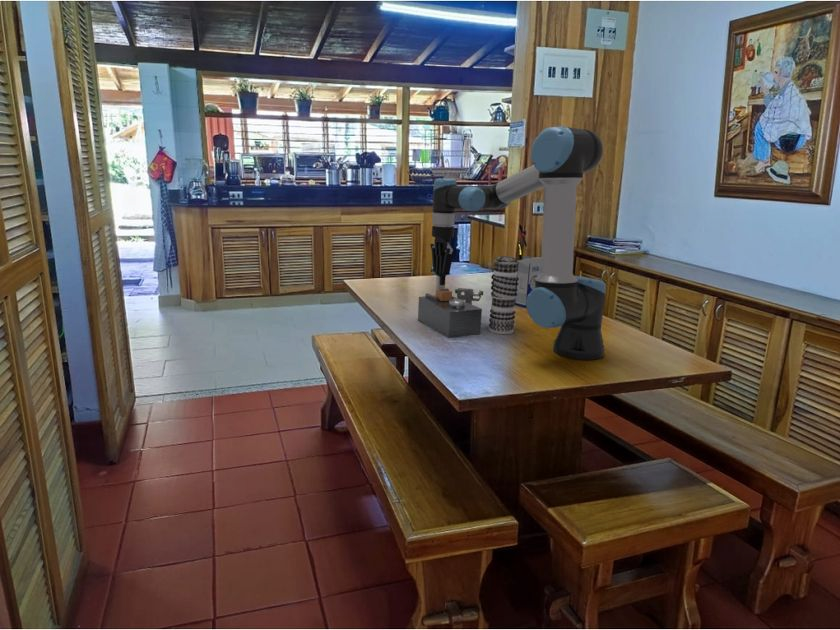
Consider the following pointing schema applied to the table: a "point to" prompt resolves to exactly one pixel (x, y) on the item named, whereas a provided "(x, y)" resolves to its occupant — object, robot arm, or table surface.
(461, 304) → the pin
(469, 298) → the mechanical component
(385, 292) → the table surface
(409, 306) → the table surface
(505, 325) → the decorative candle
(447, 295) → the block
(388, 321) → the table surface
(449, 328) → the hitch block
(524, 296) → the milk carton
